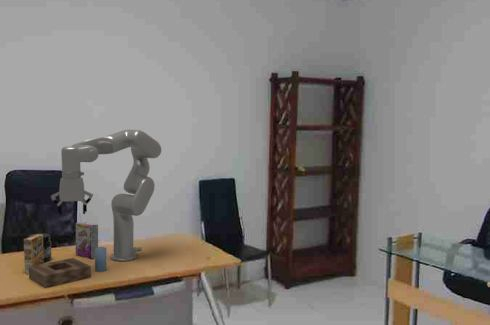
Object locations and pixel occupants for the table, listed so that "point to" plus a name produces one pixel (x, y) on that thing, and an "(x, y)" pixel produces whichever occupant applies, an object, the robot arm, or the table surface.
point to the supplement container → (46, 246)
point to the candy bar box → (86, 239)
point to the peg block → (59, 272)
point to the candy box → (33, 251)
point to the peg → (100, 259)
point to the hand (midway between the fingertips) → (72, 213)
